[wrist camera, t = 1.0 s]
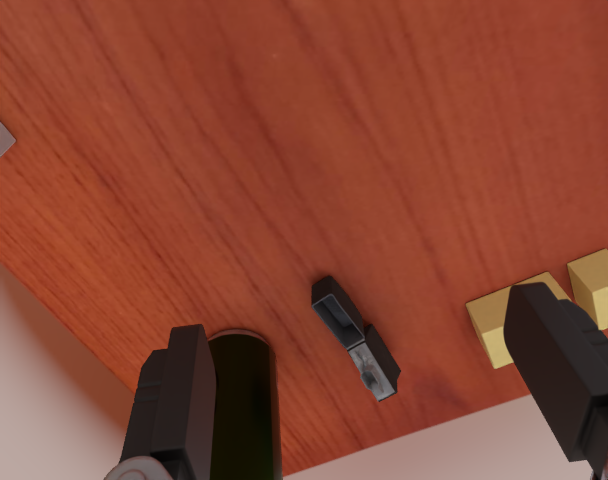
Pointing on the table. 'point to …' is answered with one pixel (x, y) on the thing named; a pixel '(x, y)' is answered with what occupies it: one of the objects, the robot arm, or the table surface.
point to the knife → (5, 139)
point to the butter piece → (591, 285)
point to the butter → (501, 318)
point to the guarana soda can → (245, 408)
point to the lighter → (356, 338)
